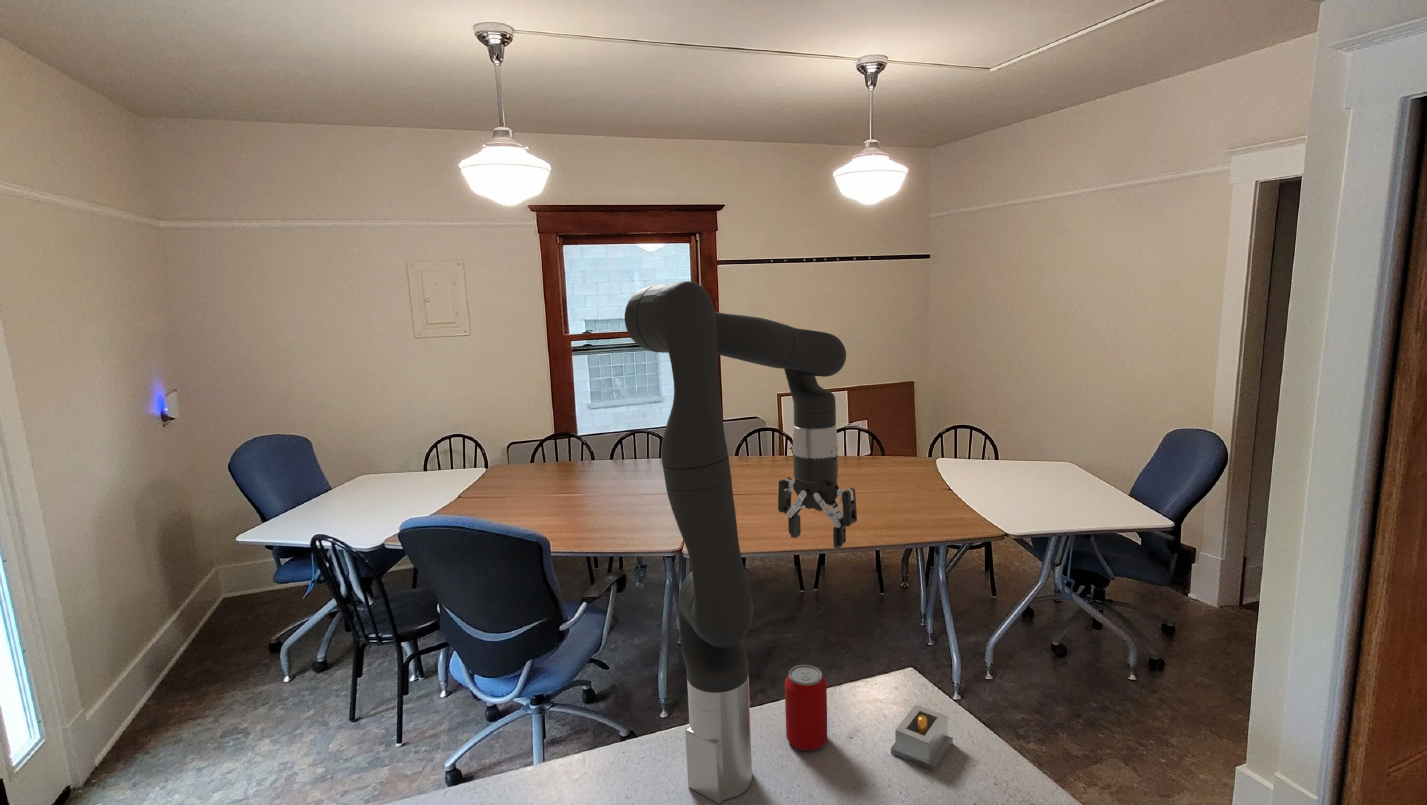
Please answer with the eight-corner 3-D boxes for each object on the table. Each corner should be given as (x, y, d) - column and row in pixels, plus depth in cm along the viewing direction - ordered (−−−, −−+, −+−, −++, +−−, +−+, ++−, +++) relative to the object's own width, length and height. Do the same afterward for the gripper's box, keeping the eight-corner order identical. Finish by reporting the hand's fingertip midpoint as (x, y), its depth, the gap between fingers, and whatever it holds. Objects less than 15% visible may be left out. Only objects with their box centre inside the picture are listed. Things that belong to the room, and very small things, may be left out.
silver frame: (928, 763, 102) (929, 743, 102) (895, 749, 106) (895, 729, 105) (947, 735, 108) (947, 716, 108) (915, 723, 112) (915, 704, 111)
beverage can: (826, 727, 113) (825, 662, 111) (829, 755, 107) (827, 686, 105) (786, 726, 114) (784, 662, 112) (786, 753, 107) (784, 685, 105)
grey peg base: (934, 772, 102) (934, 740, 101) (891, 753, 106) (891, 722, 105) (952, 743, 108) (953, 713, 107) (911, 727, 112) (911, 698, 111)
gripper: (768, 450, 115) (770, 540, 118) (842, 461, 106) (843, 557, 109) (791, 442, 121) (793, 527, 123) (863, 451, 112) (864, 543, 115)
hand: (816, 541), depth 116 cm, fingers open, 8 cm apart
